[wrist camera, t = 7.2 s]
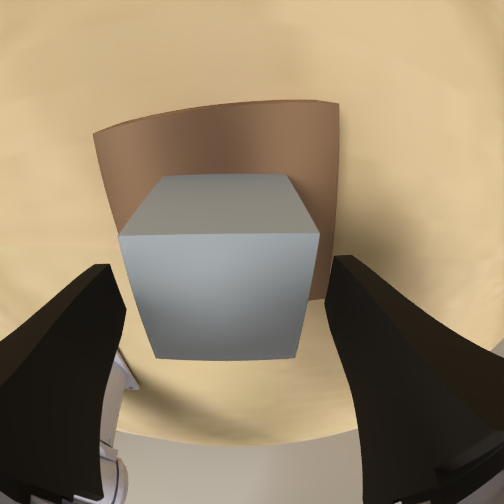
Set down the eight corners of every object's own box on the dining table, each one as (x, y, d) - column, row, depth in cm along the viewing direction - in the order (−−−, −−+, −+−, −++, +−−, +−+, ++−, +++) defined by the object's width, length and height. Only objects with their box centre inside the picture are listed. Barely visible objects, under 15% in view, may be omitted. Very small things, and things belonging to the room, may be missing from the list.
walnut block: (161, 270, 18) (148, 312, 15) (126, 121, 12) (92, 133, 9) (310, 257, 18) (326, 298, 15) (312, 99, 12) (339, 103, 9)
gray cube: (176, 275, 13) (155, 358, 9) (163, 176, 10) (117, 236, 6) (278, 274, 13) (295, 358, 9) (286, 174, 11) (319, 233, 7)
